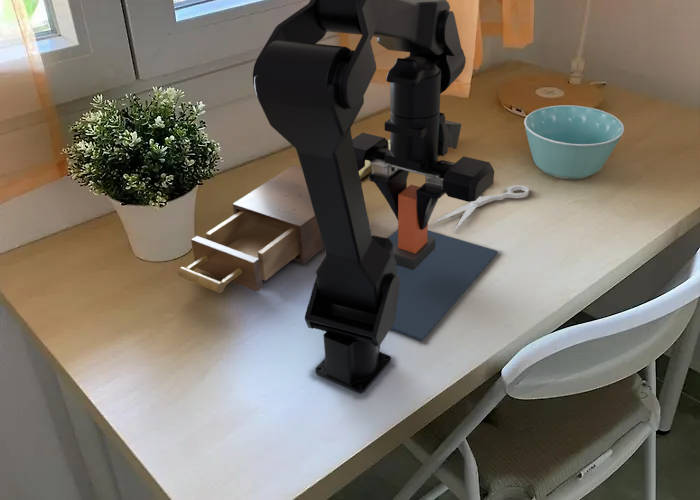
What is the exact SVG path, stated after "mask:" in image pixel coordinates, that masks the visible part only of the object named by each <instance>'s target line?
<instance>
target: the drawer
mask: <svg viewBox="0 0 700 500" xmlns="http://www.w3.org/2000/svg"><path fill="white" fill-rule="evenodd" d="M190 243H191V247H192V253H193V258H194V262H192V263H191V264H189V265H188V266H181V267H179V268H178V270H177V276H178V277H179V278H181V279H184V280H186V281H188V282H192V283H193V284H197V285H198V286H201V287H203V288H206V289H208V290H210V291H213V292H216V293H218V294H222V293H223V292H224V291H225V288H226V286H227V285H228V284H230V283H231V282H232V283H234V284H236V285H239V286H242V287H243V288H244V287H245V288H246V289H249V290H252V291H254V292H256V293H259V292H260V291H262V290H263V288H264V283H263V281H265V282H266V281H268V279H270V278H271V277H272V276H274V274H276V273H277V272H279V271H280V270H281V269H283V268H284V267H285V266H286V265H287V264H289V263H290V262H291V261H293V260H292V259H294V258H295V257H296V256H297V255H299V254H300V250H299V239H298V229H297V228H294V227H291V226H288V225H285V224H282V223H279V222H276V221H273V220H269V219H266V218H263V217H260V216H257V215H254V214H251V213H248V212H245V211H242V210H240V211H239V212H237V213H236V214H234V213H233V215H231V216H229V217H228V218H227V219H225V220H224V221H222V222H221V223H219V224H218V225H216V226H214V227H213V228H211V229H210V230H208V231H207V232H206V233H205V238H204V237H202V236H199V235H196V236H194V237H193V238H191V239H190ZM196 269H199V270H201V271H203V272H206V273H209V274H212V275H214V276H216V277H218V278H221V279H222V280H218V279H216V278H214V277H211V276H209V275H206V274H203V273H201V272H199V271H196Z"/></svg>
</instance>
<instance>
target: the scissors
mask: <svg viewBox="0 0 700 500" xmlns="http://www.w3.org/2000/svg"><path fill="white" fill-rule="evenodd" d="M515 191H522V192H518V193H516V192H515ZM529 194H530V189H529V187H528V186H526V185H524V184H523V185H521V184H516V185H515V184H514V185H511V186H508V187H506V191H505V192H503V193H502V194H494V195H483V196H482V195H481V196H480V197H479V198H478V199H477V200H476V201H471V202H467V203H466V204H464V205H462V206H459V207H458V208H456V209H453V210H452V211H450V212H448V213H446V214H445V215H443V216H441V217H439V218H437V219H435V220H434V221H432V222H431V223H430V225H431V224H434V223H437V222H439V221H442V220H445V219H447V218H450V217H452V216H455V215H457V214H460V213H462V212H463V214H462V215H461V218H460V220H459V221H458V223H457V225H456V227H455V229H454V231H453V232H455V231H456V230H457V229H458V228H459V227H460V226H461V225H462V224H463V223H464V222H465V221H466V220H467V219H468V218H469V217H470V216H471V214H472V213H473V212H474V211H475V210H476V209H477V208H478V207H481V206H483V205H485V204H488V203H490V202H493V201H502V200H504V199H523V198H526V197H527V196H529Z"/></svg>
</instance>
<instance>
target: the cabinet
mask: <svg viewBox="0 0 700 500" xmlns="http://www.w3.org/2000/svg"><path fill="white" fill-rule="evenodd" d="M240 210H242V211H245V212H248V213H251V214H254V215H257V216H260V217H263V218H266V219H269V220H273V221H276V222H279V223H282V224H285V225H288V226H291V227H294V228H297V229H298V239H299V250H300V254H299V255H297V256H296V257H295V258H294V259H292V260H291V261H295V262H297V263H300V264H302V265H305V264H306V263H308V261H310V260H311V259H312V258H313V257H314V256H316V255H317V254H318V253H319V252H320V251H322V250H323V249H324V245H323V242H322V238H321V235H320V231H319V228H318V224H317V221H316V217H315V214H314V210H313V207H312V203H311V200H310V196H309V193H308V189H307V186H306V182H305V179H304V175H303V172H302V168H301V166H296V165H291V166H289V167H288V168H286V169H285V170H283V171H281V172H280V173H279V174H276V175H275V176H274V177H273V178H270V179H269V180H267V181H266V182H264V183H263V184H261V185H260V186H258V187H256V188H255V189H254V190H252V191H250V192H249V193H247V194H246V195H243V197H241V198H239V199H237V200H236V201H234V202H233V203H232V211H233V215H234V214H236V213H237V212H239V211H240Z"/></svg>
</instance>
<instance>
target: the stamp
mask: <svg viewBox="0 0 700 500" xmlns="http://www.w3.org/2000/svg"><path fill="white" fill-rule="evenodd" d="M420 187H421V186H418V185H415V184H409V185H407V188H406V189H405V190H403V191H402V192H401V193H400V194H399V195H398V219H397V230H398V245H397V246H396V247H395V248H393V251H394V258H395V260H396V262H397V264H396V265H399V266H402V267H405V268H408V269H411V270H414V269H415V268H416V267H417V266H418V265H419V264H420V263H421V262H422V261H423V260H424V259H425V258H426V257H427V256H428V255H429V254H430V253H431V252H432V251H433V250H434V249H435V241H436V239H435V238H432V237H429V236H427V234H428V230H429V229H428V228H429V222H428V223H427V226H426V227H425V228H424V229H423V230H421V229H420V228H419V224H418V213H417V195H416V190H418V189H419V188H420Z"/></svg>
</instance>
